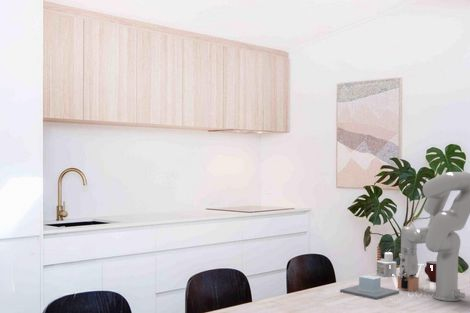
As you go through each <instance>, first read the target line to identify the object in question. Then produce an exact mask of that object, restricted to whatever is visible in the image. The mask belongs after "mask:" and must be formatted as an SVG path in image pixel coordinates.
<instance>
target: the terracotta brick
mask: <svg viewBox="0 0 470 313" xmlns="http://www.w3.org/2000/svg"><path fill="white" fill-rule="evenodd" d="M405 277H406V276H405ZM407 281H408V289H404V288H401V278H400V275H399V276H397V289H398V288H399V289H398V290H404V291H409V292H415V291H418V290H419V288H420V286H419V284H420V283H419V281H420V278H419V277H417V276H415V277H413V276H409V275H408V278H407Z"/></svg>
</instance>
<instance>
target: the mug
mask: <svg viewBox="0 0 470 313" xmlns="http://www.w3.org/2000/svg"><path fill="white" fill-rule="evenodd" d="M430 265H433V271H431V268H430ZM424 273H425V274H426V275H427V277H428V280H429V281H430V282H431V281H433V282H432V283H436V261H435V260H431V261H426V265H425V267H424Z"/></svg>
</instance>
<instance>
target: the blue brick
mask: <svg viewBox="0 0 470 313" xmlns="http://www.w3.org/2000/svg"><path fill="white" fill-rule="evenodd" d="M358 278H359V280H358V282H359V283H358V285H359V289H361V290H366V291H370V292H376V291H379V290H380V287H381V277H378V276H373V275H361V276H359V277H358Z"/></svg>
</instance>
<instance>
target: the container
mask: <svg viewBox="0 0 470 313" xmlns="http://www.w3.org/2000/svg"><path fill="white" fill-rule="evenodd" d="M397 264H398V263H397V261H394V254H393V252H391V251H384V250H383V251H382V252H380V259H379V260H376V275H378V276H381V277H385V278H388V277H389V278H390V277H393V276H392V274H394V275H395V276H394V277H397ZM389 265H391V269H389Z"/></svg>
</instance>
